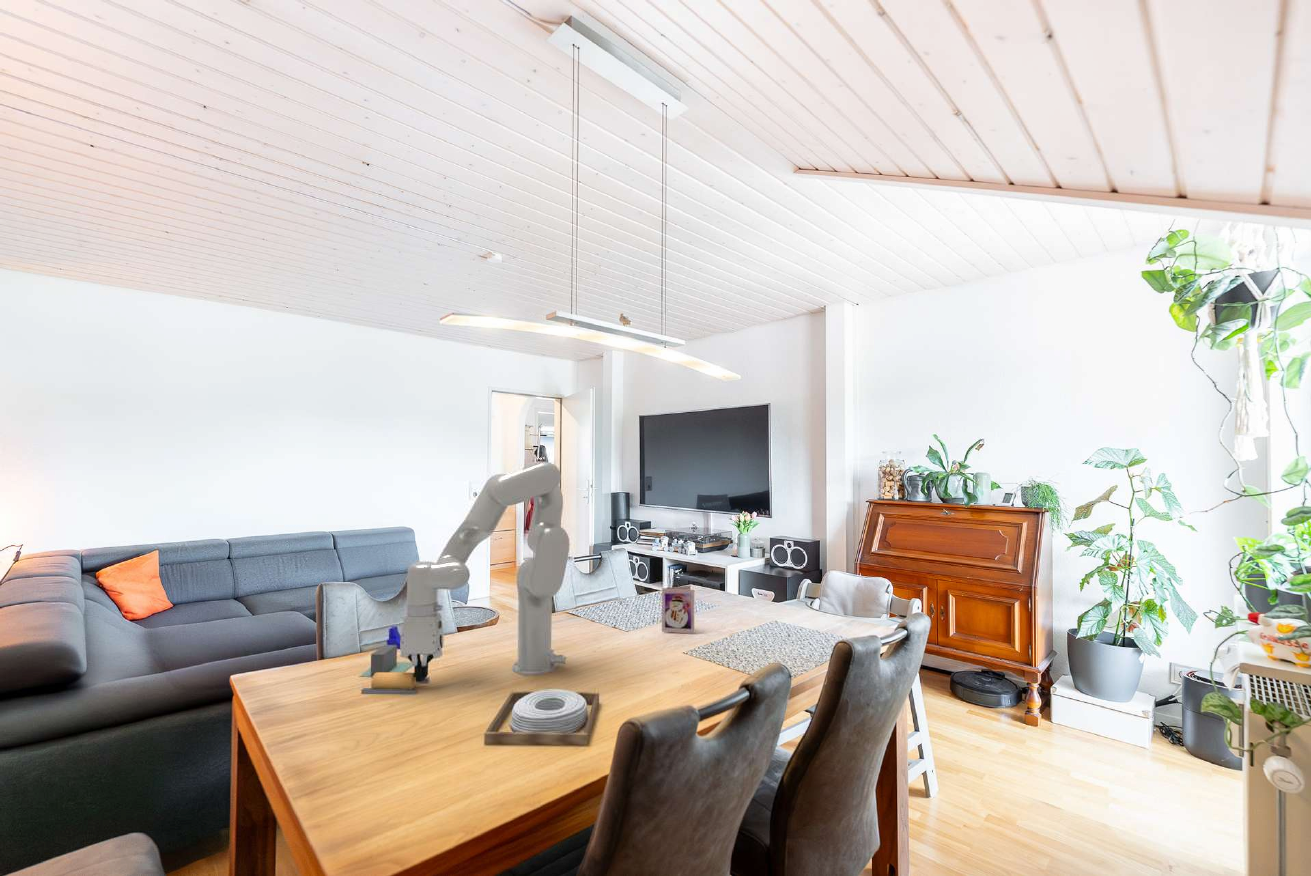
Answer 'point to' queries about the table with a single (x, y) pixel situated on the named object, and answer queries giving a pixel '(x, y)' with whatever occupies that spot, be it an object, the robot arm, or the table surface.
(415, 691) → the channel
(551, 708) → the cable
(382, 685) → the tan cylinder
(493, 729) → the cable tray
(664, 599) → the greeting card
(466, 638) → the table surface
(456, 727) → the table surface
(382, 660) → the block
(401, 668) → the pad
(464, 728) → the table surface
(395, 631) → the cable clip
